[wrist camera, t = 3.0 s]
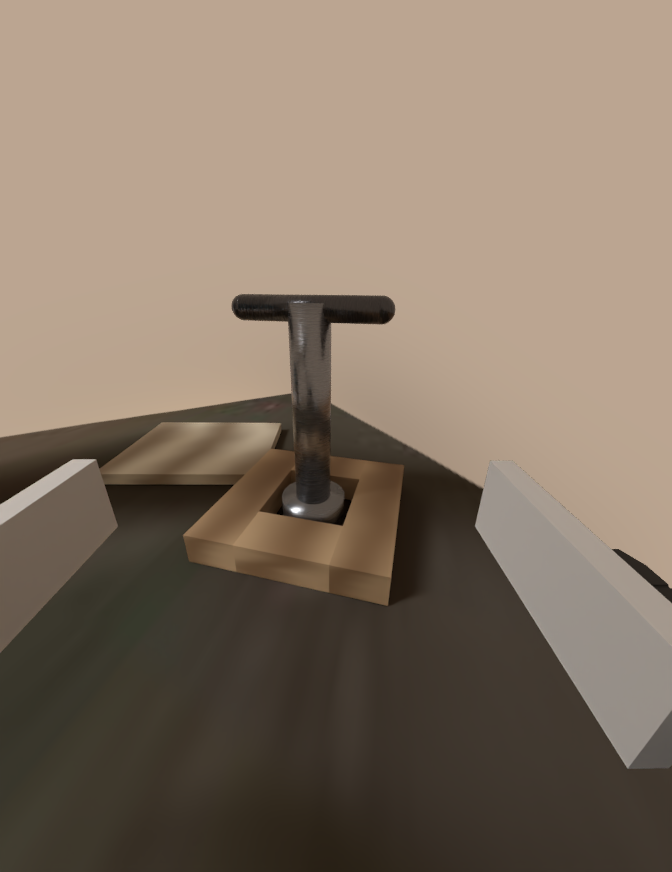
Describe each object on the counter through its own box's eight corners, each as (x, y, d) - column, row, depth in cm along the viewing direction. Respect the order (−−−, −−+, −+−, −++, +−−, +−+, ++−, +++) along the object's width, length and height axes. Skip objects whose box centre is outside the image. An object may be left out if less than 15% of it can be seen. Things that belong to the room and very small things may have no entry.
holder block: (188, 561, 19) (183, 535, 18) (272, 467, 30) (271, 448, 29) (387, 606, 17) (390, 577, 16) (401, 485, 27) (404, 465, 27)
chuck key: (240, 525, 22) (209, 293, 16) (267, 491, 26) (250, 294, 20) (373, 550, 20) (392, 295, 14) (381, 509, 24) (399, 296, 18)
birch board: (95, 484, 27) (92, 474, 27) (163, 430, 38) (162, 422, 38) (261, 484, 27) (260, 474, 27) (281, 430, 38) (280, 423, 38)
